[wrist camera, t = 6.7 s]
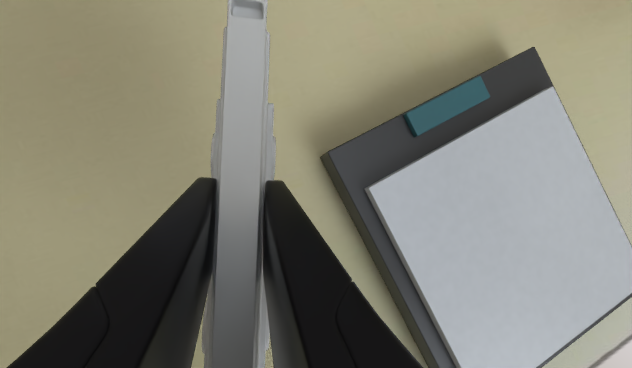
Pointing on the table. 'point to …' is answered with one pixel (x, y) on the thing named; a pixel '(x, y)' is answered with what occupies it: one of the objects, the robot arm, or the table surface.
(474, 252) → the scale
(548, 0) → the table surface
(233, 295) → the cassette
